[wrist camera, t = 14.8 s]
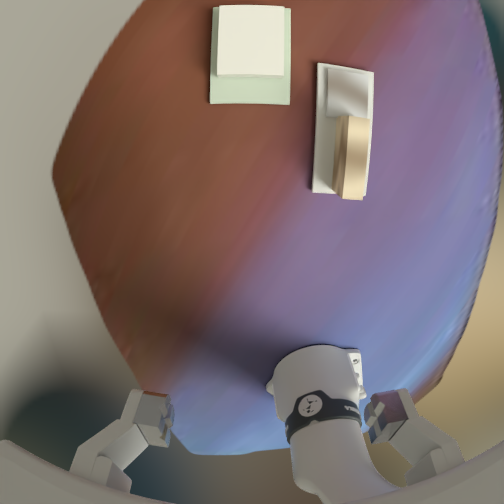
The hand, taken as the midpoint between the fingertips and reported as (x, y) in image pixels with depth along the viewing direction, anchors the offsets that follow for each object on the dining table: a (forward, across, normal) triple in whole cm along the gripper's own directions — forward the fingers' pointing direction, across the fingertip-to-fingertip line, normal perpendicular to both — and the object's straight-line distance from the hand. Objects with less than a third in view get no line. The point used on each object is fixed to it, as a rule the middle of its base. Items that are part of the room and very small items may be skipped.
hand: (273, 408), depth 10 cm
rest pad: (+27, -10, -10) cm, 31 cm away
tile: (+25, +2, -16) cm, 30 cm away
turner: (+27, -10, -10) cm, 30 cm away
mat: (+27, +2, -19) cm, 33 cm away
